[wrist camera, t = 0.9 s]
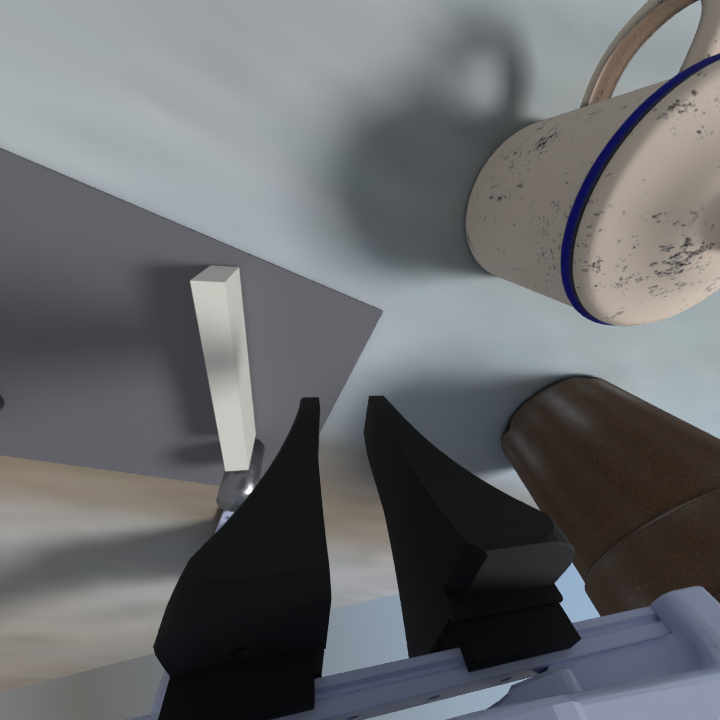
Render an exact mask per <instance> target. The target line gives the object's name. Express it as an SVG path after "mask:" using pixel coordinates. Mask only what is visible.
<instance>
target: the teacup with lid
mask: <svg viewBox="0 0 720 720" xmlns="http://www.w3.org/2000/svg"><path fill="white" fill-rule="evenodd" d="M696 1H698V0H649V1H648V2H647V3H646V4H645V5H644V6H643V7H642V8H641V9H640V10H639V11H638V12H637V13H636V14H635V15H634V16H633V17H632V18H631V19H630V20H629V21H628V23H627V24H626V25H625V26H624V27H623V28H622V30H621V31H620V32H619V33H618V35H617V36H616V37H615V39H614V40H613V41H612V43H611V44H610V46H609V47H608V49H607V50H606V52H605V53H604V55H603V56H602V58H601V60H600V62H599V63H598V65H597V67H596V69H595V71H594V73H593V75H592V78H591V80H590V82H589V85H588V87H587V90H586V92H585V95H584V98H583V101H582V103H581V106H580V109H577V110H573V111H570V112H567V113H564V114H561V115H558V116H555V117H552V118H549V119H546V120H543V121H540V122H537V123H534V124H531V125H529V126H527V127H525V128H523V129H521V130H519V131H518V132H516V133H515V134H513V135H512V136H511V137H509V138H508V139H507V140H506V141H505V142H504V143H502V144H501V145H500V146H499V147H498V149H497V150H496V151H495V152H494V153H493V154H492V156H491V157H490V158H489V159H488V161H487V162H486V164H485V165H484V167H483V168H482V170H481V172H480V174H479V175H478V177H477V180H476V182H475V184H474V186H473V189H472V192H471V195H470V198H469V202H468V207H467V213H466V234H467V240H468V244H469V247H470V250H471V252H472V254H473V256H474V258H475V259H476V261H477V262H478V263H479V265H480V266H481V267H482V268H484V269H485V270H486V271H488V272H489V273H491V274H493V275H495V276H498V277H500V278H503V279H505V280H508V281H510V282H513V283H515V284H518V285H520V286H523V287H525V288H528V289H530V290H532V291H535V292H537V293H540V294H542V295H545V296H547V297H550V298H552V299H555V300H557V301H560V302H562V303H565V304H567V305H570V306H572V307H574V308H575V309H576V310H577V311H578V312H579V313H580V314H581V315H582V316H584V317H586V318H587V319H589V320H591V321H594V322H596V323H600V324H604V325H617V326H635V325H644V324H649V323H653V322H657V321H660V320H663V319H666V318H669V317H671V316H674V315H676V314H678V313H681V312H683V311H685V310H686V309H688V308H690V307H692V306H694V305H695V304H697V303H699V302H700V301H702V300H704V299H705V298H706V297H708V296H709V295H711V294H712V293H714V292H715V291H716V290H718V289H719V288H720V0H701V3H702V13H701V18H700V22H699V26H698V29H697V31H696V34H695V37H694V39H693V42H692V44H691V46H690V49H689V51H688V53H687V55H686V58H685V60H684V62H683V64H682V67H681V69H680V71H679V73H678V74H677V75H676V76H675V77H673V78H672V79H669V80H666V81H663V82H660V83H656V84H653V85H650V86H647V87H644V88H641V89H638V90H635V91H632V92H629V93H626V94H623V95H620V96H616V97H613V98H611V97H612V95H613V92H614V90H615V88H616V85H617V83H618V81H619V79H620V77H621V75H622V73H623V72H624V70H625V68H626V67H627V65H628V64H629V62H630V61H631V59H632V58H633V56H634V55H635V54H636V53H637V51H638V50H639V49H640V48H641V47H642V45H643V44H644V43H645V42H646V41H647V40H648V39H649V38H650V37H651V36H652V35H653V34H654V33H655V32H656V31H657V30H658V29H659V28H660V27H661V26H662V25H663V24H665V23H666V22H667V21H668V20H669V19H671V18H672V17H673V16H674V15H676V14H677V13H679V12H680V11H681V10H683V9H684V8H686V7H688V6H689V5H691V4H693V3H694V2H696Z"/></svg>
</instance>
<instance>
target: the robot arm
mask: <svg viewBox="0 0 720 720" xmlns="http://www.w3.org/2000/svg"><path fill="white" fill-rule="evenodd" d="M319 426H320V402H319V397H303V398H302V399H301V400H300V405H299V409H298V412H297V415H296V418H295V420H294V422H293V425H292V427H291V429H290V431H289V433H288V436H287V437H286V439H285V441H284V443H283V445H282V447H281V448H280V450H279V452H278V454H277V455H276V457H275V459H274V460H273V462H272V464H271V465H270V467H269V468H268V470H267V471H266V473H265V474H264V475H263V477H262V478H261V479H260V481H259V482H258V484H257V485H256V486H255V488H254V489H253V490H252V492H251V493H250V494H249V495H248V497H247V498H246V499H245V500H244V502H243V503H242V504H241V505H240V506H239V507H238V508H237V510H236V511H235V512H230V511H226V510H223V513H222V515H221V518H220V520H219V523H218V525H217V528H216V530H215V533H214V535H213V536H212V537H211V538H210V539H209V540H208V541H207V542H206V543H205V544H204V545H203V546H202V547H201V548H200V549H199V550H198V551H197V552H196V553H195V554H194V555H193V556H192V557H191V558H190V560H189V561H188V563H187V565H186V567H185V569H184V571H183V573H182V574H181V576H180V578H179V580H178V582H177V584H176V587H175V589H174V591H173V593H172V596H171V598H170V600H169V602H168V605H167V607H166V610H165V613H164V616H163V619H162V622H161V625H160V628H159V631H158V634H157V637H156V640H155V643H154V646H153V648H154V652H155V655H156V657H157V658H158V660H159V661H160V663H161V664H162V666H163V667H164V669H165V670H166V671H165V672H164V673H163V675H162V678H161V680H160V683H159V687H158V689H157V693H156V696H155V699H154V702H153V706H152V709H151V712H150V715H145V716H141V717H136V718H132V719H127V720H364V719H367V718H372V717H376V716H379V715H383V714H387V713H391V712H395V711H399V710H403V709H407V708H410V707H414V706H419V705H422V704H427V703H431V702H435V701H439V700H443V699H447V698H450V697H454V696H458V695H462V694H466V693H470V692H474V691H478V690H482V689H486V688H490V687H493V686H498V685H501V684H506V683H509V682H513V681H517V680H521V679H525V678H529V677H532V678H529V679H527V680H524V681H522V682H519V683H517V684H515V685H512V686H511V688H510V690H509V692H508V693H507V694H506V695H505V696H504V697H503V698H502V699H501V700H500V701H498V702H496V703H495V704H493V705H492V706H491V707H489V708H487V709H486V710H482V711H477V712H473V713H469V714H465V715H462V716H458V717H454V718H451V719H447V720H720V603H719V602H718V601H716V600H715V599H714V598H713V597H712V596H711V595H710V594H709V593H708V592H707V591H706V590H705V589H704V588H703V587H701V586H694V587H689V588H684V589H679V590H674V591H671V592H668V593H666V594H664V595H662V596H660V597H659V598H657V599H656V600H655V601H654V602H652V603H651V606H648V607H644V608H639V609H635V610H630V611H625V612H621V613H616V614H612V615H607V616H602V617H598V618H593V619H589V620H584V621H580V622H575V623H571V621H570V620H569V618H568V616H567V615H566V613H565V612H564V610H563V608H562V607H561V605H560V604H559V603H560V602H562V600H563V598H562V595H561V593H560V592H559V590H558V589H557V587H556V586H555V584H554V583H555V582H556V581H557V580H558V578H559V577H560V576H561V575H562V574H563V573H564V572H565V571H566V569H567V568H568V567H569V566H570V564H571V563H572V562H573V559H574V555H575V550H574V547H573V545H572V544H571V543H570V542H569V540H568V539H567V538H566V536H565V535H564V534H563V533H562V531H561V530H560V529H559V527H558V526H557V525H556V523H555V522H554V521H553V520H552V518H551V517H550V516H549V515H548V514H546V513H544V512H541V511H539V510H537V509H535V508H533V507H531V506H529V505H527V504H525V503H523V502H521V501H519V500H517V499H515V498H513V497H511V496H509V495H507V494H506V493H504V492H502V491H500V490H498V489H497V488H495V487H493V486H491V485H490V484H488V483H486V482H485V481H483V480H481V479H480V478H478V477H477V476H475V475H473V474H472V473H470V472H469V471H467V470H466V469H464V468H463V467H461V466H460V465H459V464H457V463H456V462H454V461H453V460H452V459H450V458H449V457H448V456H446V455H445V454H444V453H442V452H441V451H440V450H439V449H437V448H436V447H435V446H434V445H433V444H431V443H430V442H429V441H428V440H427V439H426V438H425V437H423V436H422V435H421V434H420V433H419V432H418V431H417V430H416V429H415V428H414V427H413V426H412V425H411V424H410V423H409V422H408V421H407V420H406V419H405V418H404V417H403V416H402V415H401V414H400V413H399V412H398V411H397V410H396V409H395V408H394V407H393V405H392V404H391V403H390V402H389V401H388V400H387V399H386V398H385V397H384V396H369V400H368V407H367V414H366V421H365V428H364V438H365V444H366V450H367V456H368V459H369V463H370V466H371V470H372V473H373V476H374V480H375V483H376V486H377V490H378V493H379V496H380V500H381V503H382V506H383V510H384V514H385V518H386V523H387V528H388V533H389V538H390V543H391V549H392V554H393V560H394V565H395V571H396V577H397V583H398V589H399V595H400V601H401V607H402V613H403V621H404V627H405V634H406V641H407V648H408V655H409V658H408V659H404V660H399V661H395V662H390V663H385V664H381V665H376V666H372V667H367V668H363V669H358V670H353V671H349V672H344V673H339V674H335V675H330V676H325V677H322V675H321V674H322V666H323V665H322V664H323V656H324V649H325V648H326V641H327V631H328V624H329V615H330V606H331V584H330V569H329V560H328V552H327V544H326V535H325V526H324V517H323V507H322V497H321V486H320V475H319V462H318V448H319ZM533 676H534V677H533Z"/></svg>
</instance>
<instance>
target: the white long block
mask: <svg viewBox="0 0 720 720" xmlns="http://www.w3.org/2000/svg"><path fill="white" fill-rule="evenodd" d="M190 284H191V289H192V294H193V300H194V305H195V310H196V316H197V321H198V327H199V332H200V337H201V343H202V348H203V354H204V359H205V364H206V370H207V375H208V380H209V386H210V391H211V397H212V402H213V407H214V413H215V418H216V424H217V429H218V434H219V440H220V445H221V450H222V456H223V461H224V467H225V471H239V470H249V465H250V460H251V455H252V450H253V446H254V441H255V436H256V430H255V420H254V410H253V400H252V391H251V381H250V371H249V361H248V351H247V341H246V331H245V321H244V311H243V301H242V291H241V281H240V271H239V267H230V266H215V265H211V266H209V267H208V268H207V269H205V270H204V271H202V272H201V273H200V274H198V275H197V276H196V277H194V278H193V279H191V280H190Z"/></svg>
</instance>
